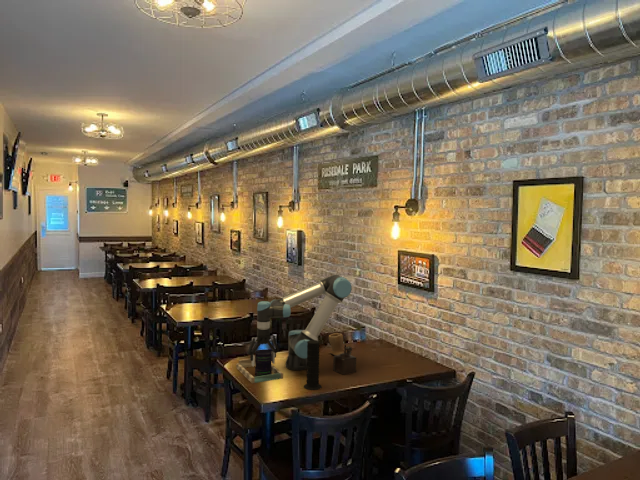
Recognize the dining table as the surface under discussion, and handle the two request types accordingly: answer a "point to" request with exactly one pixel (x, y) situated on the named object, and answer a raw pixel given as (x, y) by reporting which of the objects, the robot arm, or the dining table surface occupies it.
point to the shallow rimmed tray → (248, 363)
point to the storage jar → (263, 362)
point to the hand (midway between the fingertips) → (263, 364)
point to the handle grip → (312, 365)
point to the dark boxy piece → (345, 362)
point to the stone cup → (336, 343)
